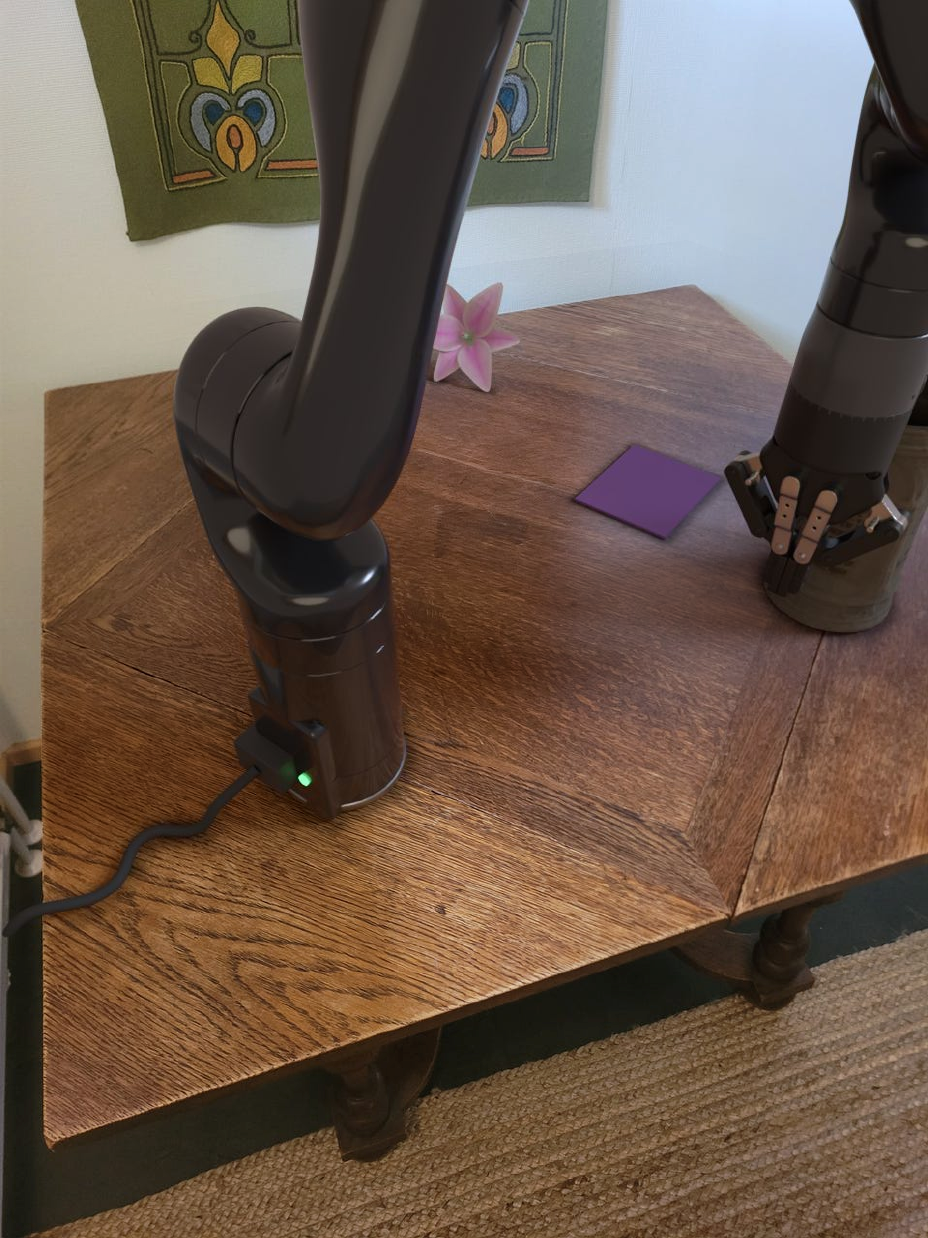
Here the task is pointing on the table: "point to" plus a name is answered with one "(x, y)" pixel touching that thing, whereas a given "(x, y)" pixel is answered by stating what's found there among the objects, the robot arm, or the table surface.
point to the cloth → (648, 490)
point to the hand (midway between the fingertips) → (781, 588)
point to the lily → (470, 335)
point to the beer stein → (867, 583)
